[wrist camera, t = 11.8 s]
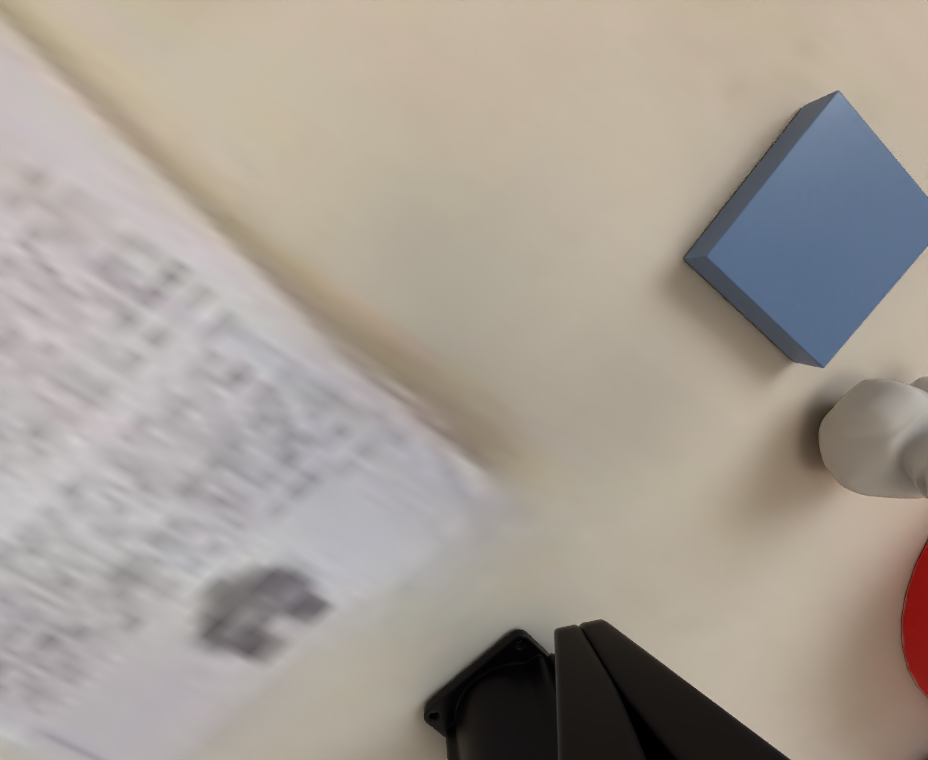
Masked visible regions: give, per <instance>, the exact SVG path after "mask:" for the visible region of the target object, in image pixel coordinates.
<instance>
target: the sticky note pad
mask: <svg viewBox="0 0 928 760" xmlns="http://www.w3.org/2000/svg"><path fill="white" fill-rule="evenodd" d="M927 246H928V197H927V196H926V194H925V193H924V192H923V191H922V190H921V188H920V187H919V186H918V185H917V184H916V182H915V181H914V180H913V179H912V178H911V176H910V175H909V174H908V173H907V171H906V170H905V169H904V168H903V167H902V165H901V164H900V163H899V162H898V161H897V159H896V158H895V157H894V156H893V155H892V153H891V152H890V151H889V150H888V149H887V147H886V146H885V145H884V144H883V143H882V141H881V140H880V139H879V138H878V137H877V135H876V134H875V133H874V132H873V131H872V129H871V128H870V127H869V126H868V125H867V123H866V122H865V121H864V120H863V119H862V117H861V116H860V115H859V114H858V113H857V111H856V110H855V109H854V108H853V107H852V105H851V104H850V103H849V102H848V101H847V99H846V98H845V97H844V96H843V95H842V93H841V92H840V91H835V92H833V93H831V94H829V95H826V96H824V97H822V98H820V99H818V100H815V101H813V102H811V103H809V104H807V105H805V106H804V107H803V108H802V109H801V110H800V112H799V113H798V114H797V115H796V117H795V118H794V119H793V120H792V122H791V123H790V124H789V126H788V127H787V128H786V129H785V131H784V132H783V133H782V134H781V136H780V137H779V138H778V139H777V141H776V142H775V143H774V145H773V146H772V147H771V148H770V150H769V151H768V152H767V153H766V155H765V156H764V157H763V158H762V160H761V161H760V162H759V164H758V165H757V166H756V167H755V169H754V170H753V171H752V172H751V174H750V175H749V176H748V177H747V179H746V180H745V181H744V183H743V184H742V185H741V186H740V188H739V189H738V190H737V191H736V193H735V194H734V195H733V196H732V198H731V199H730V200H729V202H728V203H727V204H726V205H725V207H724V208H723V209H722V210H721V212H720V213H719V214H718V215H717V217H716V218H715V219H714V221H713V222H712V223H711V224H710V226H709V227H708V228H707V229H706V231H705V232H704V233H703V234H702V236H701V237H700V238H699V240H698V241H697V242H696V243H695V245H694V246H693V247H692V248H691V250H690V251H689V252H688V253H687V255H686V256H685V257H684V260H685V261H686V262H687V263H688V264H689V265H691V266H692V267H693V268H694V269H695V270H696V271H697V272H698V273H699V274H700V275H701V276H702V277H703V278H704V279H706V280H707V281H708V282H709V283H710V284H711V285H712V286H713V287H714V288H715V289H716V290H717V291H718V292H720V293H721V294H722V295H723V296H724V297H725V298H726V299H727V300H728V301H729V302H730V303H731V304H732V305H733V306H735V307H736V308H737V309H738V310H739V311H740V312H741V313H742V314H743V315H744V316H745V317H746V318H747V319H749V320H750V321H751V322H752V323H753V324H754V325H755V326H756V327H757V328H758V329H759V330H760V331H761V332H762V333H764V334H765V335H766V336H767V337H768V338H769V339H770V340H771V341H772V342H773V343H774V344H775V345H776V346H778V347H779V348H780V349H781V350H782V351H783V352H784V353H785V354H786V355H787V356H788V357H789V358H790V359H791V360H793V361H794V362H795V363H800V364H805V365H810V366H815V367H820V368H824V367H825V366H826V365H827V364H828V362H829V361H830V360H831V359H832V358H833V357H834V355H835V354H836V353H837V352H838V351H839V350H840V348H841V347H842V346H843V345H844V344H845V342H846V341H847V340H848V339H849V338H850V337H851V335H852V334H853V333H854V332H855V331H856V330H857V328H858V327H859V326H860V325H861V324H862V323H863V321H864V320H865V319H866V318H867V317H868V316H869V314H870V313H871V312H872V311H873V310H874V308H875V307H876V306H877V305H878V304H879V303H880V301H881V300H882V299H883V298H884V297H885V296H886V294H887V293H888V292H889V291H890V290H891V289H892V287H893V286H894V285H895V284H896V283H897V282H898V280H899V279H900V278H901V277H902V276H903V274H904V273H905V272H906V271H907V270H908V269H909V267H910V266H911V265H912V264H913V263H914V262H915V260H916V259H917V258H918V257H919V256H920V255H921V253H922V252H923V251H924V250H925V249H926V248H927Z"/></svg>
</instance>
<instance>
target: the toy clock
mask: <svg viewBox="0 0 928 760" xmlns="http://www.w3.org/2000/svg"><path fill="white" fill-rule="evenodd" d="M902 647H903V651H904V655H905V659H906V663H907V667H908V669H909V671H910V673H911V675H912V677H913V679H914V681H915V683H916V685H917V686H918V688H919V689H920V690H921V691H922V692H923V693H924V694H925V695H926V697H927V698H928V542H927V544H926V546H925V548H924V550H923V552H922V554H921V556H920V558H919V560H918V562H917V564H916V566H915V569H914V572H913V575H912V578H911V581H910V584H909V587H908V590H907V593H906V597H905V603H904V610H903V616H902Z"/></svg>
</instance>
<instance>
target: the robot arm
mask: <svg viewBox="0 0 928 760" xmlns="http://www.w3.org/2000/svg"><path fill="white" fill-rule="evenodd" d="M519 640H522V641H521V642H519V643H516V642H517V641H519ZM554 641H555V654H553V653H551V654H549V653H548V652H547V651H546V650H545V649H544V648H543V647H542V646H540V645H539V644H538V643H537V642H536V641H535V640H534V639H533V638H532V637H531V636H530V635H529V634H528V633H527V632H526V631H524V630H520V629H518V630H515V631H513V632H511V633H510V634H509V635H508V636H507V637H505V638H504V639H503V640H502V641H501V642H499V643H498V644H497V645H496V646H495V647H493V648H492V649H491V650H490V651H489V652H487V653H486V654H485V655H484V656H483V657H481V658H480V659H479V660H478V661H477V662H475V663H474V664H473V665H472V666H471V667H469V668H468V669H467V670H466V671H465V672H463V673H462V674H461V675H460V676H459V677H457V678H456V679H455V680H454V681H453V682H451V683H450V684H449V685H448V686H447V687H445V688H444V689H443V690H442V691H441V692H439V693H438V694H437V695H436V696H435V697H433V698H432V699H431V700H430V701H429V702H427V703H426V705H425V706H424V720H425V721H426V722H427V723H428V724H429V725H430V726H432V727H433V728H434V729H435V730H437V731H438V732H439V733H440V734H442V735H443V736H444V737H445V738H446V746H447V759H448V760H790V759H789V758H788V757H786V756H785V755H784V754H782V753H781V752H780V751H778V750H777V749H776V748H774V747H773V746H772V745H770V744H769V743H768V742H766V741H765V740H764V739H762V738H761V737H760V736H758V735H757V734H756V733H754V732H753V731H752V730H750V729H749V728H748V727H746V726H745V725H744V724H742V723H741V722H740V721H738V720H737V719H736V718H734V717H733V716H732V715H730V714H729V713H728V712H726V711H725V710H724V709H722V708H721V707H720V706H718V705H717V704H716V703H714V702H713V701H712V700H710V699H709V698H708V697H706V696H705V695H704V694H702V693H701V692H700V691H698V690H697V689H696V688H694V687H693V686H692V685H690V684H689V683H688V682H686V681H685V680H684V679H682V678H681V677H680V676H678V675H677V674H676V673H674V672H673V671H672V670H670V669H669V668H668V667H666V666H665V665H664V664H662V663H661V662H660V661H658V660H657V659H656V658H654V657H653V656H652V655H650V654H649V653H648V652H646V651H645V650H644V649H642V648H641V647H640V646H638V645H637V644H636V643H634V642H633V641H632V640H630V639H629V638H628V637H626V636H625V635H624V634H622V633H621V632H620V631H618V630H617V629H616V628H614V627H613V626H612V625H610V624H609V623H608V622H606V621H604V620H595V621H590V622H585V623H582V624H581V625H580V626H577V625H571V626H566V627H561V628H557V629H556V630H555V632H554ZM432 712H434V713H432Z"/></svg>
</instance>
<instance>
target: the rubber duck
mask: <svg viewBox="0 0 928 760" xmlns="http://www.w3.org/2000/svg"><path fill="white" fill-rule="evenodd" d="M819 447H820V452H821V456H822V459H823V462H824V464H825V466H826V467H827V469H828V470H829V471H830V473H831V474H832V475H833V477H834V478H835V479H836V481H837V482H838V483H839V484H840V485H841V486H843V487H845V488H847V489H849V490H851V491H853V492H856V493H859V494H862V495H867V496H877V497H888V498H907V499H912V498H922V497H925V498H928V377H922V378H919V379H917V380H916V381H914V382H913V383H912V384H910V385H908V384H905V383H902V382H898V381H892V380H884V379H869V380H865V381H862V382H861V383H859V384H857V385H856V386H855V387H854V388H852V389H851V390H850V391H849V392H848V393H847V394H846V395H845V396H843V397H842V398H841V399H840V400H839V401H838V402H837V403H836V404H835V406H834V407H833V408H832V409H831V410H830V411H829V412H828V413H827V415H826V416H825V417H824V419H823V420H822V422H821V425H820V428H819Z"/></svg>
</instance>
